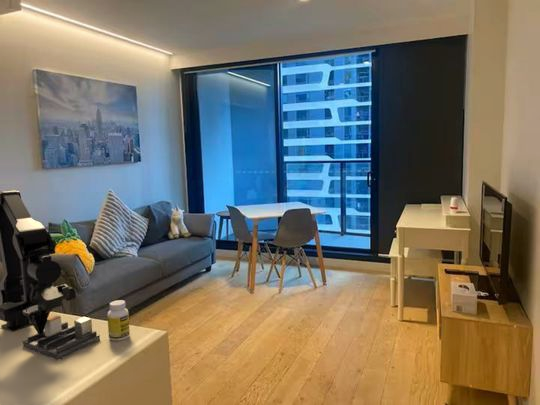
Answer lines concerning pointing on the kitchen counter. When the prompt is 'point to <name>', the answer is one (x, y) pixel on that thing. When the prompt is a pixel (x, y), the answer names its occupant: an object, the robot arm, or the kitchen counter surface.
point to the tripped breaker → (53, 325)
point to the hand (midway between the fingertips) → (40, 333)
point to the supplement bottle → (118, 321)
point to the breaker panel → (64, 339)
